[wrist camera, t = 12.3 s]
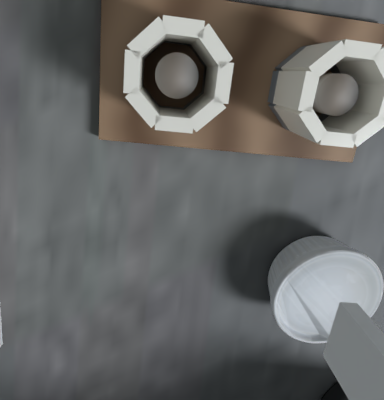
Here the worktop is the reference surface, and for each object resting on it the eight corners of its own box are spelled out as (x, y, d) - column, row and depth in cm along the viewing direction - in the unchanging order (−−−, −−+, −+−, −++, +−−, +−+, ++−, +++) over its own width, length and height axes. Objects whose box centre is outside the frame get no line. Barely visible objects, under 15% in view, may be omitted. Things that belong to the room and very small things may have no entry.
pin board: (383, 26, 30) (441, 15, 24) (346, 160, 34) (388, 179, 28) (103, -16, 27) (88, -41, 21) (100, 137, 31) (86, 153, 25)
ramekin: (242, 297, 39) (254, 329, 34) (287, 212, 36) (308, 234, 31) (324, 321, 41) (346, 355, 36) (373, 244, 38) (405, 270, 33)
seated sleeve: (355, 53, 29) (412, 48, 23) (334, 134, 32) (380, 150, 25) (278, 42, 29) (314, 34, 22) (262, 126, 31) (291, 142, 24)
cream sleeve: (220, 36, 28) (239, 25, 21) (209, 122, 30) (223, 136, 24) (133, 24, 27) (126, 9, 21) (129, 114, 29) (121, 126, 23)
